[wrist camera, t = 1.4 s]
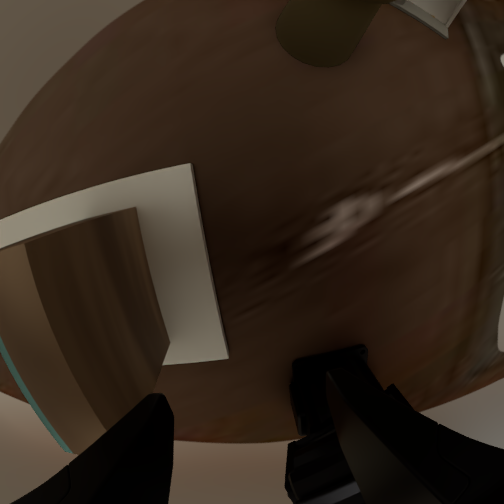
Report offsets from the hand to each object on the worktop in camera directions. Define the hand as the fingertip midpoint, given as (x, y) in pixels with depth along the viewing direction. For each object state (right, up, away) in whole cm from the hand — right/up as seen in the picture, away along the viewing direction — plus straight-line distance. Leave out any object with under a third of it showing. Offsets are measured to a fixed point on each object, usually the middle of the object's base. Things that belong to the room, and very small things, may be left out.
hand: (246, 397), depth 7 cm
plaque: (-9, +2, +11) cm, 14 cm away
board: (-14, +1, +12) cm, 18 cm away
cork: (+5, +20, +9) cm, 22 cm away
